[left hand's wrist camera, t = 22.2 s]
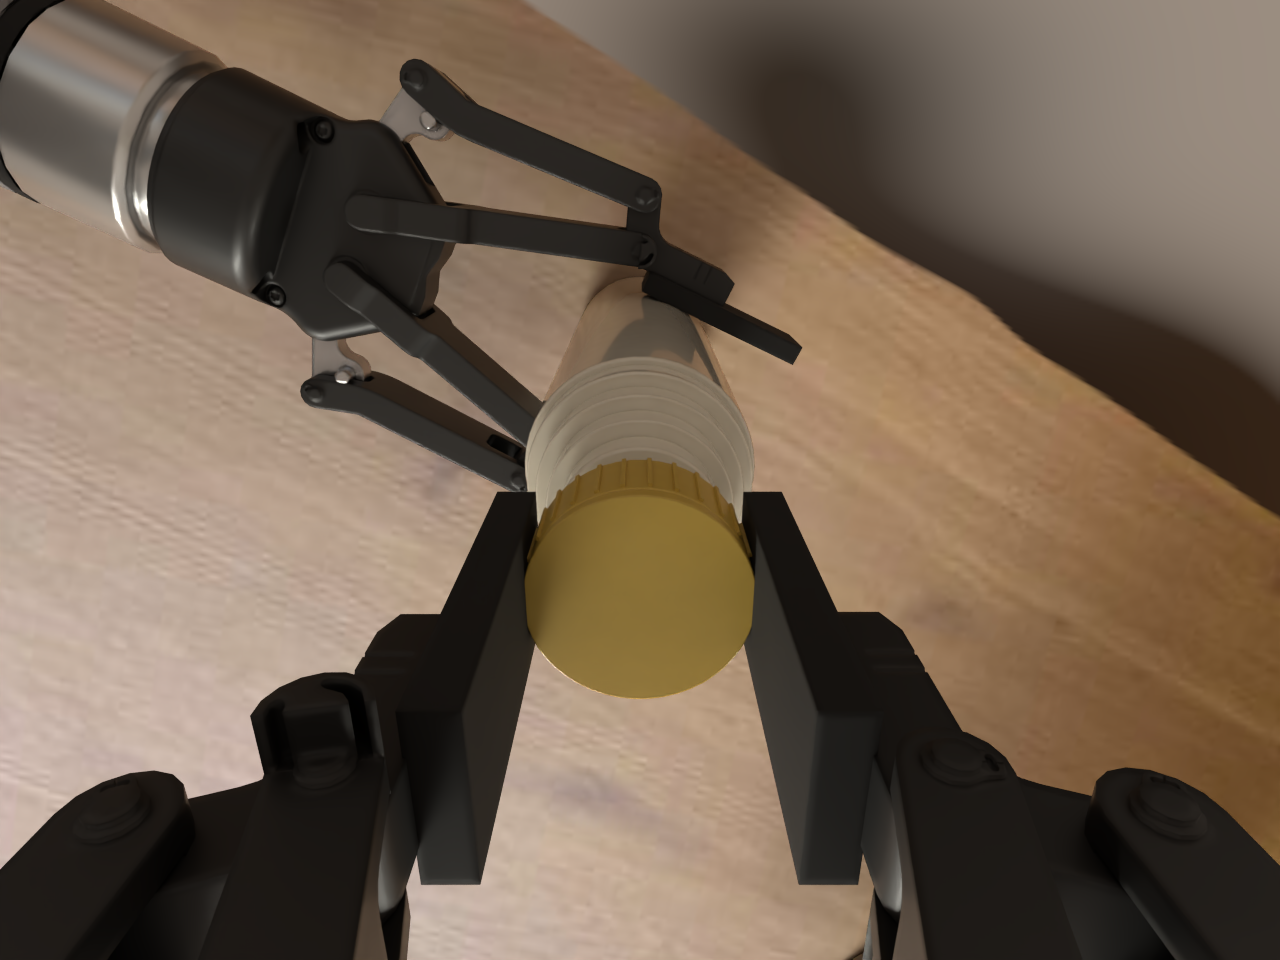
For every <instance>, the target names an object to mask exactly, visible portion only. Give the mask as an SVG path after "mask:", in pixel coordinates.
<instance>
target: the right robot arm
mask: <svg viewBox="0 0 1280 960" xmlns="http://www.w3.org/2000/svg"><path fill="white" fill-rule="evenodd" d="M400 82H401V85H402V88H401V90H400V91H399V93H398V94H397V96H396V97H395V99H394V100H393V102H392V103H391V105H390V106H389V108H388V109H387V111H386V112H385V114H384V115H383V117H382V118H381V119H380V121H375V120H357V121H353V120H347V119H345V118H342V117H340V116H338V115H336V114H334V113H332V112H330V111H328V110H326V109H324V108H322V107H320V106H318V105H316V104H314V103H312V102H310V101H308V100H306V99H303V98H301V97H299V96H297V95H295V94H293V93H291V92H289V91H287V90H285V89H283V88H281V87H279V86H277V85H275V84H273V83H271V82H269V81H267V80H265V79H263V78H261V77H259V76H257V75H255V74H253V73H251V72H249V71H246V70H244V69H241V68H236V67H235V68H227V67H226V65H225V64H224V63H223V62H222V61H221V60H220V59H219V58H218V57H217V56H216V55H214V54H212V53H210V52H208V51H206V50H204V49H202V48H200V47H198V46H196V45H194V44H192V43H190V42H188V41H186V40H184V39H182V38H179V37H177V36H175V35H173V34H171V33H169V32H167V31H165V30H163V29H161V28H159V27H157V26H155V25H153V24H151V23H149V22H147V21H145V20H143V19H141V18H139V17H137V16H135V15H133V14H131V13H128V12H126V11H124V10H122V9H120V8H118V7H116V6H114V5H112V4H110V3H108V2H106V1H104V0H0V186H1V187H4V188H6V189H8V190H10V191H13V192H15V193H18V194H20V195H22V196H24V197H26V198H28V199H30V200H32V201H35V202H37V203H40V204H42V205H44V206H47V207H49V208H51V209H53V210H56V211H58V212H60V213H62V214H64V215H67V216H69V217H71V218H73V219H75V220H78V221H80V222H82V223H84V224H86V225H89V226H91V227H93V228H95V229H97V230H100V231H102V232H104V233H106V234H108V235H111V236H113V237H115V238H117V239H120V240H122V241H124V242H126V243H128V244H131V245H133V246H135V247H137V248H139V249H142V250H144V251H147V252H149V253H163V254H164V255H165V256H166V257H167V258H168V259H169V260H170V261H171V262H173V263H174V264H176V265H178V266H180V267H183V268H185V269H187V270H189V271H192V272H194V273H196V274H198V275H201V276H203V277H205V278H207V279H210V280H212V281H214V282H216V283H219V284H221V285H223V286H225V287H228V288H230V289H232V290H234V291H237V292H239V293H241V294H243V295H246V296H248V297H250V298H252V299H255V300H257V301H260V302H262V303H265V304H267V305H270V306H273V307H275V308H277V309H279V310H281V311H283V312H284V313H286V314H287V315H288V316H289V317H291V318H292V319H293V320H294V321H295V322H296V324H297V325H298V326H299V327H300V328H301V329H302V330H303V331H304V332H305V333H306V334H307V335H309V336H310V337H312V377H311V378H310V379H308V380H306V381H305V382H304V383H303V384H302V386H301V390H300V392H301V397H302V398H303V400H304V401H305V403H307V404H308V405H309V406H311V407H314V408H319V409H326V410H332V411H339V412H345V413H351V414H358V415H360V416H362V417H364V418H366V419H368V420H370V421H372V422H374V423H376V424H378V425H380V426H382V427H384V428H386V429H388V430H390V431H392V432H394V433H396V434H398V435H400V436H402V437H404V438H406V439H408V440H410V441H412V442H414V443H416V444H418V445H419V446H421V447H423V448H425V449H427V450H429V451H431V452H433V453H435V454H437V455H439V456H441V457H443V458H445V459H447V460H449V461H451V462H453V463H455V464H457V465H459V466H461V467H463V468H465V469H467V470H469V471H471V472H473V473H475V474H477V475H479V476H481V477H483V478H485V479H487V480H489V481H491V482H493V483H495V484H497V485H499V486H501V487H503V488H505V489H507V490H509V491H511V492H527V491H528V489H527V481H526V476H525V454H526V446H527V442H528V437H529V433H530V431H531V428H532V426H533V423H534V421H535V418H536V416H537V414H538V412H539V410H540V407H541V405H542V402H541V401H540V400H539V399H538V398H537V397H535V396H534V395H533V394H532V393H531V392H530V391H529V390H527V389H526V388H525V387H524V386H523V385H522V384H520V383H519V382H518V381H517V380H516V379H515V378H514V377H512V376H511V375H510V374H509V373H508V372H507V371H505V370H504V369H503V368H502V367H501V366H500V365H499V364H497V363H496V362H495V361H494V360H493V359H492V358H490V357H489V356H488V355H487V354H486V353H485V352H484V351H482V350H481V349H480V348H479V347H478V346H477V345H475V344H474V343H473V342H472V341H471V340H470V339H469V338H467V337H466V336H465V335H464V334H463V333H462V332H461V331H459V330H458V329H457V328H456V327H455V326H454V325H453V323H452V321H451V320H450V318H449V317H448V316H447V315H446V314H445V313H444V312H443V311H441V310H440V309H439V308H438V307H437V306H436V305H435V304H434V301H435V299H436V296H437V293H438V288H439V275H440V270H441V269H442V267H443V266H444V264H445V263H446V262H447V260H448V259H449V257H450V256H451V255H452V252H453V249H454V247H455V244H456V243H462V244H477V245H484V246H492V247H499V248H506V249H513V250H520V251H527V252H535V253H542V254H549V255H556V256H563V257H571V258H578V259H585V260H592V261H599V262H606V263H614V264H621V265H628V266H635V267H638V269H645V270H647V272H646V275H645V277H644V279H643V281H642V292H644V293H646V294H648V295H650V296H652V297H654V298H656V299H658V300H660V301H662V302H664V303H666V304H668V305H671V306H673V307H675V308H677V309H679V310H681V311H683V312H685V313H687V314H689V315H691V316H693V317H695V318H697V319H699V320H701V321H703V322H706V323H708V324H710V325H712V326H714V327H716V328H718V329H720V330H722V331H724V332H726V333H728V334H730V335H732V336H734V337H736V338H738V339H740V340H743V341H745V342H747V343H749V344H751V345H753V346H755V347H757V348H759V349H761V350H763V351H765V352H767V353H769V354H771V355H773V356H775V357H778V358H780V359H782V360H784V361H786V362H788V363H790V364H792V365H793V363H794V362H795V360H796V358H797V356H798V355H799V353H800V351H801V349H802V347H801V346H800V345H799V344H798V343H797V342H796V341H795V340H794V339H793V338H792V337H791V336H790V335H789V334H787V333H785V332H783V331H781V330H779V329H777V328H775V327H773V326H771V325H769V324H767V323H765V322H763V321H761V320H758V319H756V318H754V317H752V316H750V315H748V314H746V313H744V312H742V311H740V310H738V309H736V308H734V307H732V306H730V305H728V304H726V303H725V302H726V300H727V298H728V296H729V294H730V292H731V290H732V288H733V286H734V282H733V281H732V280H731V279H730V278H729V277H728V275H727V274H726V273H725V272H724V271H723V270H722V269H720V268H718V267H716V266H714V265H712V264H710V263H708V262H706V261H704V260H702V259H700V258H698V257H696V256H694V255H692V254H690V253H688V252H686V251H684V250H682V249H680V248H678V247H676V246H674V245H672V244H670V243H668V242H667V241H665V239H664V238H663V237H662V236H661V234H660V230H659V218H660V208H661V198H662V192H661V188H660V186H659V184H658V183H657V182H656V181H655V180H653V179H652V178H649V177H647V176H645V175H642V174H640V173H638V172H635V171H633V170H630V169H628V168H626V167H623V166H621V165H619V164H616V163H614V162H612V161H609V160H607V159H605V158H602V157H600V156H597V155H595V154H593V153H590V152H588V151H586V150H583V149H581V148H579V147H576V146H574V145H572V144H569V143H567V142H565V141H562V140H560V139H557V138H555V137H553V136H550V135H548V134H546V133H543V132H541V131H539V130H536V129H534V128H532V127H529V126H527V125H524V124H522V123H520V122H517V121H515V120H513V119H510V118H508V117H506V116H503V115H501V114H499V113H496V112H494V111H491V110H489V109H487V108H484V107H482V106H480V105H478V104H477V103H476V102H475V101H474V100H473V99H471V98H470V97H469V96H468V95H467V94H466V93H465V92H464V91H463V90H462V89H461V88H459V87H458V86H457V85H456V84H455V83H454V82H453V81H452V80H451V79H450V78H449V77H448V76H446V75H445V74H444V73H442V72H441V71H439V70H437V69H436V68H434V67H433V66H431V65H429V64H427V63H426V62H424V61H422V60H419V59H412V60H408V61H407V62H406V63H405V64H404V65H403V66H402V68H401V71H400ZM454 133H455V134H457V135H459V136H461V137H463V138H465V139H467V140H469V141H471V142H473V143H476V144H478V145H481V146H483V147H485V148H488V149H490V150H493V151H495V152H497V153H500V154H502V155H505V156H507V157H509V158H512V159H514V160H516V161H519V162H521V163H524V164H526V165H528V166H531V167H533V168H536V169H538V170H540V171H543V172H545V173H548V174H550V175H552V176H555V177H557V178H560V179H562V180H564V181H567V182H569V183H572V184H574V185H576V186H579V187H581V188H584V189H586V190H588V191H591V192H593V193H596V194H598V195H600V196H603V197H605V198H608V199H610V200H612V201H615V202H617V203H620V204H622V205H624V206H627V207H628V212H627V224H626V228H625V227H618V226H611V225H604V224H597V223H590V222H583V221H576V220H569V219H562V218H555V217H548V216H541V215H534V214H527V213H519V212H512V211H505V210H498V209H491V208H486V207H481V206H475V205H468V204H460V203H453V202H446V201H444V200H443V198H442V196H441V195H440V193H439V192H438V190H437V188H436V187H435V185H434V183H433V182H432V180H431V178H430V177H429V175H428V173H427V172H426V170H425V168H424V167H423V165H422V163H421V162H420V160H419V158H418V157H417V155H416V153H415V152H414V150H413V148H412V147H411V145H410V143H409V142H410V141H411V140H412V139H413V138H414V137H416V136H421V135H423V136H425V137H427V138H429V139H431V140H435V141H446V140H448V139H450V138H451V137H452V136H453V134H454ZM377 332H382V333H383V334H384V335H385V336H387V337H388V338H389V339H390V340H391V341H393V342H394V343H395V344H396V345H397V346H399V347H400V348H401V349H402V350H403V351H405V352H406V353H407V354H409V355H411V356H413V357H416V358H419V359H421V360H422V361H423V362H425V363H426V364H427V365H428V366H429V367H431V368H432V369H433V370H434V371H435V372H436V373H438V374H439V375H440V376H441V377H442V378H444V379H445V380H446V381H447V382H448V383H450V384H451V385H452V386H453V387H454V388H455V389H457V390H458V391H459V392H460V393H461V394H463V395H464V396H465V397H466V398H467V399H469V400H470V401H471V402H472V403H473V404H474V405H476V406H477V407H478V408H479V409H480V410H482V411H483V412H484V413H485V414H486V415H488V416H489V417H490V418H491V419H492V420H494V421H495V422H496V423H497V424H498V425H499V426H501V427H502V428H503V429H504V430H505V431H507V432H508V433H509V434H510V435H511V436H513V437H514V438H515V439H516V440H517V441H518V442H517V441H515V440H513V439H511V438H510V437H508V436H506V435H504V434H502V433H500V432H498V431H496V430H494V429H492V428H490V427H488V426H486V425H484V424H482V423H481V422H479V421H477V420H475V419H473V418H471V417H469V416H467V415H465V414H463V413H461V412H459V411H457V410H455V409H453V408H452V407H450V406H448V405H446V404H444V403H442V402H440V401H438V400H436V399H434V398H432V397H430V396H428V395H426V394H424V393H423V392H421V391H419V390H417V389H415V388H413V387H411V386H409V385H407V384H405V383H403V382H401V381H399V380H397V379H395V378H393V377H390V376H388V375H385V374H382V373H379V372H375V371H371V366H370V364H369V362H368V361H367V359H365V358H364V357H363V356H361V355H358V354H356V353H354V352H353V351H351V350H350V348H349V347H348V345H347V343H346V338H351V337H356V336H361V335H366V334H372V333H377ZM519 442H520V443H519Z"/></svg>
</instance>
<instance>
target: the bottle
mask: <svg viewBox="0 0 1280 960" xmlns="http://www.w3.org/2000/svg"><path fill="white" fill-rule="evenodd" d="M643 279H644V277H630V278H625V279H622V280H619V281H616V282H614V283H612V284H610V285H608V286H606V287H605V288H604V289H602V290H601V291H600V292H599V293H598V294H597V295H596V296H595V297H594V298H593V299H592V300H591V301H590V303H589V304H588V306H587V307H586V309H585V311H584V313H583V315H582V317H581V320H580V322H579V324H578V326H577V328H576V331H575V333H574V335H573V337H572V339H571V341H570V344H569V346H568V348H567V350H566V352H565V355H564V357H563V359H562V361H561V363H560V366H559V368H558V370H557V372H556V374H555V377H554V379H553V381H552V383H551V385H550V388H549V390H548V392H547V394H546V396H545V399H544V401H543V403H542V405H541V407H540V410H539V412H538V414H537V416H536V418H535V421H534V423H533V426H532V428H531V431H530V433H529V437H528V442H527V446H526V454H525V476H526V481H527V489H528V492H536V503H537V521H538V523H540V519H541V516H542V513H543V510H544V508H545V507H546V508H548V507H549V505H550V504H551V503H552V502H553V500H554V499H555V497H556V494H557V491H558V490H559V489H560V490H563V489H564V488H565V487H566V486H567V485H569V484H570V483H571V482H573V481H574V480H575V476H577V475H578V474H579V475H580V476H582V475H583V474H585V473H587V472H589V471H591V470H593V469H596V468H597V465H599V464H602V466H603V465H607V464H611V463H614V462H620V461H622V459H624V458H626V461H627V460H647V458H652V461H660V462H664V463H669V464H672V462H674V463H676V464H677V466H678V467H681V468H684V469H686V470H688V471H690V472H692V473H695V472H698V473H699V475H700V477H701V478H702V479H704V480H705V481H707V482H708V483H710V484H711V485H712V486H713V487H714V486H715V485H716V486H717V487H718V488H719V492H720V494H721V495H722V496H723V497H724V499H725V500H726V501H727V502H728V504H730V503H732V504H733V506H734V510H735V513H736V516H737V520H738V522H739V523H741V522H742V506H743V492H752V483H753V479H754V467H755V462H754V449H753V444H752V439H751V435H750V433H749V430H748V427H747V424H746V422H745V419H744V417H743V415H742V413H741V411H740V408H739V406H738V404H737V402H736V400H735V397H734V395H733V393H732V391H731V389H730V386H729V384H728V382H727V380H726V378H725V375H724V373H723V371H722V369H721V367H720V364H719V362H718V360H717V358H716V356H715V353H714V351H713V349H712V347H711V344H710V342H709V340H708V338H707V336H706V333H705V331H704V329H703V327H702V325H701V322H700V320H699V319H697V318H695V317H693V316H691V315H689V314H687V313H685V312H683V311H681V310H679V309H677V308H675V307H673V306H671V305H668V304H666V303H664V302H662V301H660V300H658V299H656V298H654V297H652V296H650V295H648V294H646V293H644V292H642V281H643Z"/></svg>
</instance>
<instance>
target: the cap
mask: <svg viewBox="0 0 1280 960" xmlns="http://www.w3.org/2000/svg"><path fill="white" fill-rule="evenodd" d="M749 557H752V553H751V550H750V547H749V543H748V540H747V537H746V533H745V530H744V527H743V524H742V523H739V522H738V520H737V516H736V513H735V510H734V506H733V504H732V503H730V504H728V502H727V501H726V500H725V499H724V497H723V496H722V495H721V494H720V492H719V488H718V487H717V486H716V485H715V486H714V487H713V486H712V485H711V484H710V483H708V482H707V481H705V480H704V479H702V478H701V477H700V475H699V473H698V472H695V473H692V472H690V471H688V470H686V469H684V468H681V467H678V466H677V464H676V463H674V462H672V464H669V463H664V462H660V461H652V458H647V460H627V461H626V458H624V459H622V461H620V462H614V463H611V464H607V465H603V466H602V464H599V465H597V468H596V469H593V470H591V471H589V472H587V473H585V474H583V475H582V476H580V475H579V474H578V475H577V476H575V480H574V481H573V482H571V483H570V484H569V485H567V486H566V487H565V488H564V489H563V490H560V489H559V490H558V491H557V494H556V497H555V499H554V500H553V502H552V503H551V504H550V505H549V507H548V508H546V507H545V508H544V510H543V513H542V516H541V519H540V523H539V526H538V528H536V530H535V533H534V537H533V540H532V543H531V547H530V550H529V553H528V557H527V562H528V565H527V569H526V573H525V596H526V611H527V625H528V629H529V631H530V634H531V636H532V638H533V640H534V642H535V643H536V645H537V647H538V649H539V650H540V651H541V652H542V654H543V655H544V656H545V658H546V659H547V660H548V661H549V662H550V663H551V664H552V665H553V666H554V667H555V668H556V669H557V670H559V671H560V672H561V673H562V674H564V675H565V676H566V677H568V678H569V679H571V680H573V681H574V682H576V683H578V684H579V685H582V686H584V687H586V688H588V689H590V690H593V691H596V692H599V693H602V694H605V695H610V696H615V697H620V698H630V699H651V698H659V697H665V696H669V695H674V694H678V693H680V692H683V691H686V690H689V689H691V688H693V687H695V686H698V685H700V684H702V683H704V682H705V681H707V680H708V679H710V678H711V677H713V676H714V675H716V674H717V673H718V672H719V671H721V670H722V669H723V668H724V667H725V666H726V665H727V664H728V663H729V662H730V661H731V660H732V659H733V658H734V657H735V656H736V654H737V653H738V651H739V650H740V649H741V647H742V646H743V644H744V642H745V640H746V638H747V636H748V635H749V633H750V630H751V627H752V613H753V598H754V582H755V576H754V572H753V568H752V565H751V561H750V558H749Z"/></svg>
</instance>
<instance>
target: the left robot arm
mask: <svg viewBox="0 0 1280 960" xmlns="http://www.w3.org/2000/svg"><path fill="white" fill-rule="evenodd" d="M742 524H743V527H744V530H745V533H746V537H747V540H748V543H749V547H750V550H751V553H752V557H749V558H750V561H751V565H752V568H753V572H754V576H755V582H754V598H753V613H752V627H751V630H750V633H749V635H748V636H747V638H746V640H745V642H744V646H745V650H746V655H747V659H748V663H749V668H750V672H751V677H752V681H753V685H754V690H755V694H756V699H757V703H758V707H759V712H760V716H761V720H762V725H763V729H764V734H765V738H766V742H767V747H768V751H769V756H770V760H771V764H772V769H773V773H774V778H775V782H776V786H777V791H778V795H779V800H780V804H781V808H782V813H783V817H784V822H785V826H786V830H787V835H788V839H789V843H790V848H791V852H792V857H793V861H794V865H795V870H796V874H797V879H798V883H799V885H858V881H859V875H860V868H861V861H862V855H863V854H864V857H865V860H866V863H867V866H868V869H869V872H870V875H871V878H872V881H873V884H874V890H873V897H872V903H871V909H870V915H869V921H868V928H867V934H866V940H865V946H864V953H862V954H860V955H859V956H857V957H855V958H854V959H852V960H1280V865H1279V864H1278V863H1277V862H1276V861H1275V860H1274V859H1273V858H1272V857H1271V856H1270V855H1269V854H1268V853H1267V852H1266V851H1265V850H1264V849H1263V848H1262V847H1261V846H1260V845H1259V844H1258V843H1257V842H1256V841H1255V840H1254V839H1253V838H1252V837H1251V836H1250V835H1249V834H1248V833H1247V832H1246V831H1245V830H1244V829H1243V828H1242V827H1241V826H1240V825H1239V824H1238V823H1237V822H1236V821H1235V820H1234V819H1233V818H1232V817H1231V816H1230V815H1229V814H1228V813H1227V812H1226V811H1225V810H1224V809H1223V808H1222V807H1220V806H1219V805H1218V804H1217V803H1215V802H1214V801H1213V800H1212V799H1210V798H1209V797H1208V796H1207V795H1205V794H1204V793H1203V792H1201V791H1199V790H1197V789H1195V788H1193V787H1191V786H1190V785H1188V784H1186V783H1184V782H1182V781H1180V780H1178V779H1176V778H1173V777H1170V776H1167V775H1164V774H1161V773H1157V772H1154V771H1151V770H1144V769H1135V768H1121V769H1116V770H1111V771H1107V772H1106V773H1105V774H1103V775H1102V776H1101V777H1100V778H1099V779H1098V780H1097V781H1096V784H1095V787H1094V791H1093V794H1092V796H1089V795H1085V794H1081V793H1076V792H1072V791H1068V790H1063V789H1059V788H1055V787H1050V786H1046V785H1042V784H1038V783H1035V782H1032V781H1029V780H1025V779H1022V778H1020V777H1018V776H1017V775H1016V773H1015V771H1014V770H1013V768H1012V767H1011V765H1010V763H1009V762H1008V760H1007V759H1006V757H1005V756H1003V755H1002V754H1001V753H1000V752H999V751H997V750H996V749H995V748H994V747H993V746H991V745H990V744H989V743H987V742H985V741H983V740H981V739H979V738H977V737H975V736H973V735H971V734H969V733H967V732H963V731H962V730H961V728H960V727H959V725H958V723H957V721H956V720H955V718H954V716H953V715H952V713H951V711H950V710H949V708H948V706H947V705H946V703H945V701H944V700H943V698H942V696H941V695H940V693H939V691H938V689H937V688H936V686H935V684H934V683H933V681H932V679H931V678H930V676H929V674H928V673H927V672H925V668H924V666H923V664H922V662H921V661H920V659H919V657H918V656H917V655H915V653H914V649H913V647H912V646H911V644H910V642H909V641H908V639H907V637H906V636H905V634H904V632H903V630H902V629H900V628H899V627H898V626H896V625H895V624H894V623H892V622H891V621H890V620H889V619H887V618H886V617H885V616H883V615H882V614H881V613H879V612H837V610H836V607H835V605H834V603H833V601H832V599H831V597H830V595H829V592H828V590H827V588H826V586H825V584H824V582H823V580H822V577H821V575H820V573H819V571H818V569H817V567H816V564H815V562H814V560H813V558H812V556H811V554H810V552H809V549H808V547H807V545H806V543H805V541H804V539H803V537H802V534H801V532H800V530H799V528H798V526H797V524H796V522H795V519H794V517H793V515H792V513H791V511H790V509H789V507H788V504H787V502H786V500H785V498H784V496H783V494H782V492H743V506H742ZM536 528H538V521H537V503H536V492H497V494H496V496H495V498H494V500H493V503H492V505H491V507H490V509H489V511H488V513H487V515H486V518H485V520H484V522H483V524H482V526H481V528H480V530H479V533H478V535H477V537H476V539H475V541H474V543H473V545H472V548H471V550H470V552H469V554H468V556H467V558H466V560H465V563H464V565H463V567H462V569H461V571H460V573H459V575H458V578H457V580H456V582H455V584H454V586H453V588H452V590H451V593H450V595H449V597H448V599H447V601H446V603H445V605H444V608H443V610H442V612H441V614H400V615H399V616H398V617H396V618H395V619H394V620H393V621H391V622H390V623H389V624H387V625H386V626H385V627H383V628H382V629H381V630H379V631H378V632H377V634H376V635H375V637H374V639H373V640H372V642H371V644H370V645H369V647H368V649H367V650H366V652H365V657H362V659H361V661H360V662H359V664H358V666H357V667H356V669H355V674H354V675H353V674H350V673H347V672H331V673H320V674H316V675H311V676H307V677H302V678H300V679H297V680H295V681H293V682H291V683H288V684H286V685H284V686H281V687H279V688H278V689H276V690H275V691H274V692H272V693H271V694H270V695H268V696H267V697H266V698H264V699H263V700H261V702H260V703H259V704H258V706H257V707H256V709H255V710H254V711H253V713H252V714H251V715H250V717H251V721H252V726H253V730H254V734H255V738H256V742H257V746H258V750H259V755H260V759H261V763H262V767H263V771H264V776H263V779H262V780H260V781H257V782H254V783H251V784H247V785H244V786H241V787H237V788H233V789H229V790H225V791H220V792H216V793H212V794H207V795H203V796H199V797H195V798H190V799H188V798H187V794H186V791H185V788H184V784H183V783H182V782H181V781H179V780H178V779H177V778H176V777H175V776H174V775H173V774H169V773H164V772H159V771H146V772H137V773H129V774H126V775H123V776H120V777H117V778H114V779H111V780H108V781H105V782H102V783H100V784H98V785H96V786H95V787H93V788H91V789H89V790H87V791H85V792H83V793H82V794H80V795H78V796H76V797H75V798H74V799H72V800H71V801H70V802H69V803H67V804H66V805H65V806H64V807H63V808H61V809H60V810H59V811H58V812H56V813H55V814H54V815H53V816H52V817H51V818H50V819H49V820H48V821H47V822H46V823H45V824H44V825H43V826H42V827H41V828H40V829H39V830H38V831H37V832H36V833H35V834H34V835H33V836H32V837H31V838H30V840H29V841H28V842H27V843H26V844H25V845H24V846H23V847H22V848H21V849H20V850H19V851H18V852H17V853H16V854H15V855H14V856H13V857H12V858H11V859H10V860H9V861H8V862H7V863H6V864H5V865H4V866H3V867H2V868H1V869H0V960H407V951H408V940H409V928H410V910H409V903H408V897H407V890H406V885H407V882H408V879H409V876H410V873H411V870H412V867H413V864H414V861H415V858H416V855H417V860H418V867H419V874H420V880H421V885H480V884H481V879H482V875H483V871H484V866H485V862H486V857H487V853H488V849H489V844H490V840H491V835H492V831H493V827H494V822H495V818H496V813H497V809H498V805H499V800H500V796H501V791H502V787H503V783H504V778H505V774H506V770H507V765H508V761H509V756H510V752H511V748H512V743H513V739H514V734H515V730H516V726H517V721H518V717H519V712H520V708H521V704H522V699H523V695H524V691H525V686H526V682H527V677H528V673H529V669H530V664H531V660H532V655H533V651H534V647H535V642H534V640H533V638H532V636H531V634H530V631H529V629H528V625H527V611H526V596H525V573H526V569H527V565H528V562H527V557H528V553H529V550H530V547H531V543H532V540H533V537H534V533H535V530H536Z"/></svg>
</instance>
